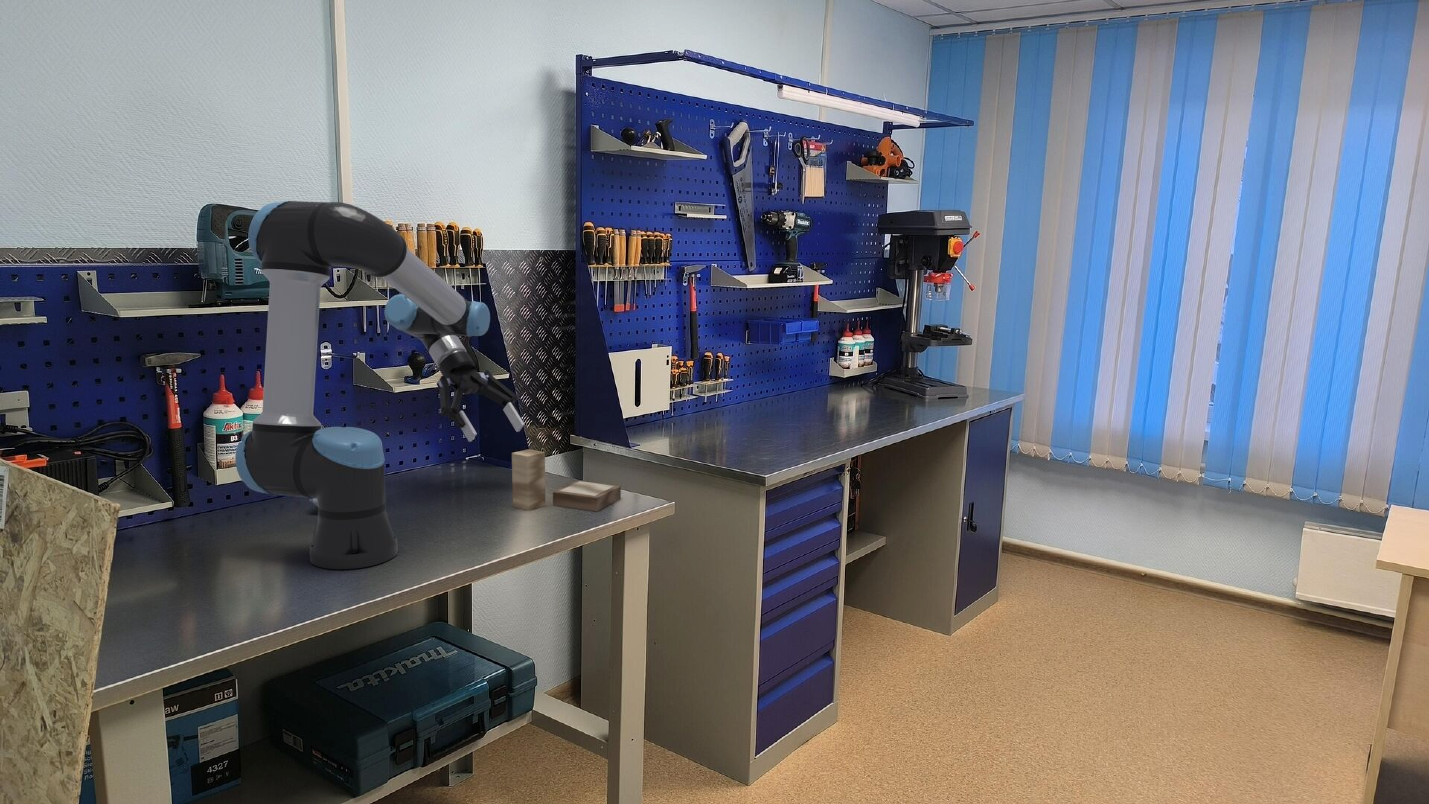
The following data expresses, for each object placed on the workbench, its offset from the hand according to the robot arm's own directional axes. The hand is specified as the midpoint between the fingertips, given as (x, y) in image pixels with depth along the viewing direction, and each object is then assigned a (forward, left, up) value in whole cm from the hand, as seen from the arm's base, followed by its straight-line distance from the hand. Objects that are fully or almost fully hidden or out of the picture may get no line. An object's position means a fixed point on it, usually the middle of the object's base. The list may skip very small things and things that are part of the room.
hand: (497, 433), depth 210 cm
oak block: (-3, -10, -15) cm, 18 cm away
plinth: (+5, -20, -15) cm, 25 cm away
